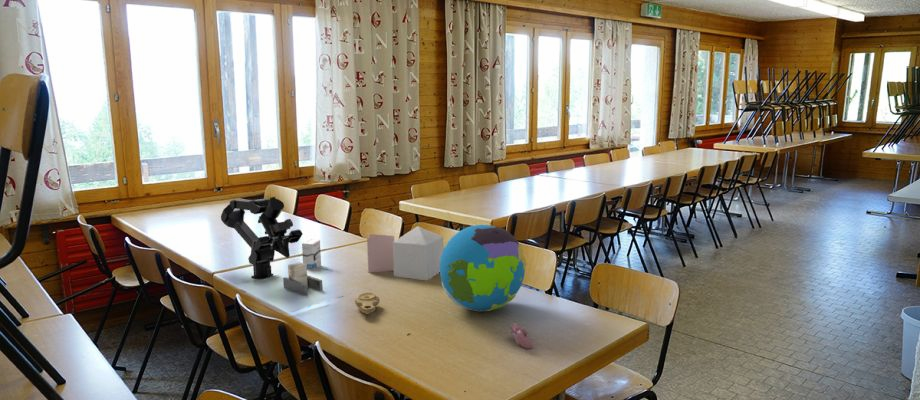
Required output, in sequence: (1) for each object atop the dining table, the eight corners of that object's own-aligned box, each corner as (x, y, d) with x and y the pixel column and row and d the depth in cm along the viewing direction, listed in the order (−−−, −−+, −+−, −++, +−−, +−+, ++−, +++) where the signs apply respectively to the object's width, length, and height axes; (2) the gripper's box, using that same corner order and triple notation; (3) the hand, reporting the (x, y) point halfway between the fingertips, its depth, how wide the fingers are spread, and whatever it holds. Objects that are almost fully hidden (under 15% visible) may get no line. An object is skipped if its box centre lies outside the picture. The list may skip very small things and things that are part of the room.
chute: (283, 290, 237) (283, 277, 236) (301, 285, 243) (300, 273, 242) (305, 298, 228) (304, 285, 227) (322, 292, 234) (322, 280, 233)
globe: (469, 332, 195) (469, 241, 189) (424, 305, 220) (422, 223, 214) (542, 314, 210) (544, 228, 205) (492, 290, 235) (492, 213, 230)
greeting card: (395, 269, 263) (395, 235, 260) (388, 274, 256) (387, 239, 253) (372, 267, 266) (370, 233, 263) (363, 272, 259) (362, 237, 257)
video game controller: (515, 341, 192) (505, 322, 191) (528, 334, 192) (518, 316, 191) (521, 355, 182) (511, 335, 181) (535, 347, 182) (524, 328, 181)
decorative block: (393, 276, 253) (392, 229, 250) (410, 266, 268) (409, 221, 264) (428, 280, 247) (427, 232, 244) (444, 269, 262) (443, 224, 258)
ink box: (313, 270, 262) (312, 244, 260) (302, 270, 263) (301, 243, 260) (321, 265, 270) (320, 239, 268) (311, 264, 271) (309, 238, 269)
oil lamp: (365, 320, 206) (364, 306, 205) (344, 308, 217) (344, 295, 216) (392, 313, 213) (391, 299, 212) (371, 302, 224) (370, 289, 223)
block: (289, 287, 237) (287, 264, 235) (300, 284, 240) (299, 262, 239) (296, 290, 234) (295, 267, 232) (307, 286, 237) (306, 264, 236)
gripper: (256, 217, 232) (274, 250, 227) (298, 209, 246) (316, 240, 241) (247, 234, 239) (264, 266, 234) (288, 225, 253) (305, 256, 247)
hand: (288, 257), depth 239 cm, fingers closed
